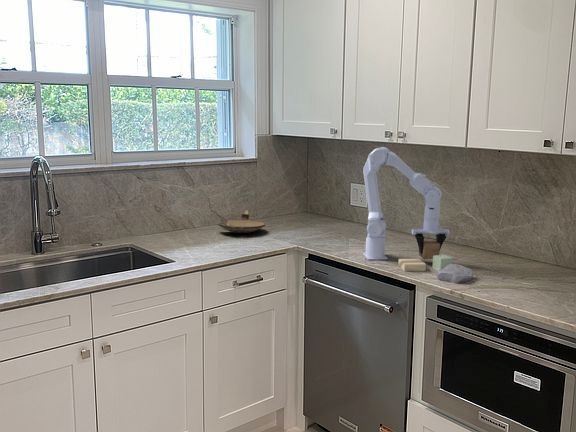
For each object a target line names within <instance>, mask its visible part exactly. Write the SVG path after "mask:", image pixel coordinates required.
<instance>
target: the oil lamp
mask: <svg viewBox="0 0 576 432" xmlns="http://www.w3.org/2000/svg"><path fill="white" fill-rule="evenodd" d="M249 216H250V214H249V210H247V209H246V210H245V211H244V213H241V219H235V220H234V219H230V220H229V219H227V220H225V221H224V222H223V224H221V223H219V222H217V226H219V227H220V228H222V229H224V230H225V231H228V232H231V233H235V234H250V233H254V232H256V231H258V230H261V229H262V228H264V227H266V223H264V222H261V221H257V220H249Z"/></svg>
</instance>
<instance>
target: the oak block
mask: <svg viewBox="0 0 576 432" xmlns="http://www.w3.org/2000/svg"><path fill="white" fill-rule="evenodd" d="M397 265H398V266H399V267H401V270H402V271H404V272H426V269H427V265H426V263H425V262H424V261H423V260H421V259H420V258H398V264H397Z"/></svg>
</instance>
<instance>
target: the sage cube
mask: <svg viewBox="0 0 576 432" xmlns="http://www.w3.org/2000/svg"><path fill="white" fill-rule="evenodd" d="M449 264H453V257H451V256H449V255H446V254H439V255H434V256H433V259H432V269H433V270H435V271H437V272H438V271H439V269H441V270H442V269H444V268H445V267H446V266H447V265H449Z"/></svg>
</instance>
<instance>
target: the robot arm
mask: <svg viewBox="0 0 576 432" xmlns="http://www.w3.org/2000/svg"><path fill="white" fill-rule="evenodd" d="M383 165H385V166H389V167H390V166H391V167H394V168H395V169H396V170H397V171H399V172H401V174H403V175H404V176H405V177H406V178H408V179H409V185H410V186H411V187H412V188H414V189H415V190H416V191H417V192H418V193H419V194H420V195H421V196H424V200H425V206H424V213H423V215H424V216H423V224H422V225H423V227H422V228H421V227H420V228H411V235H412V236H414V237H415V240H416V242H417V245H418V246H417V247H418V253H419V252H420V253H423V243H424V240H425V235H426V236H427V235H431V236H432V235H435V241H437V242H438V243H440V250H441V248H442V246H443V244H444V243H445V241H446V239H447V236H450V232H451V231H450V229H448V228H446V229H445V228H439V225H440V216H441V215H440V214H441V206H440V205H441V198H442V195H443V194H442V191H441V189H440V188H439V187H438V186H436V184H435V183H432V182H431V181H429V179H427V178H426V177H427V175H426V174H422V173H420V172H418V173H417V172H415V171H414V170H412V168H410V167H409V165H408V164H406V162H404V160H402V159H401V157H399V156H398V155H397V154H396V153H395V152H394V151H391V150H390V149H389V148H388V147H386V146H380V147H377V148H374V149H373V150H371V152H370V153H369V154H368V156H367V160H366V161H365V164H364V165H363V168H362V171H363V173H362V174H363V180H364V187H365V196H366V202H367V210H368V217H367V226H366V232H367V236H366V238H365V250H364V251H365V252H363V253H362V254H363V255H364V257H365V258H366V259H367V260H376V261H377V260H382V261H383V260H388V257H387V256H386V253H385V252H386V236H387V235H386V233H385V231H386V229H387V226H388V225H387V222H386V219H385V218H384V213H383V212H382V207H381V199H380V191H379V184H378V175H377V172H378V170H379V169H380V168H381V167H382V166H383Z"/></svg>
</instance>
